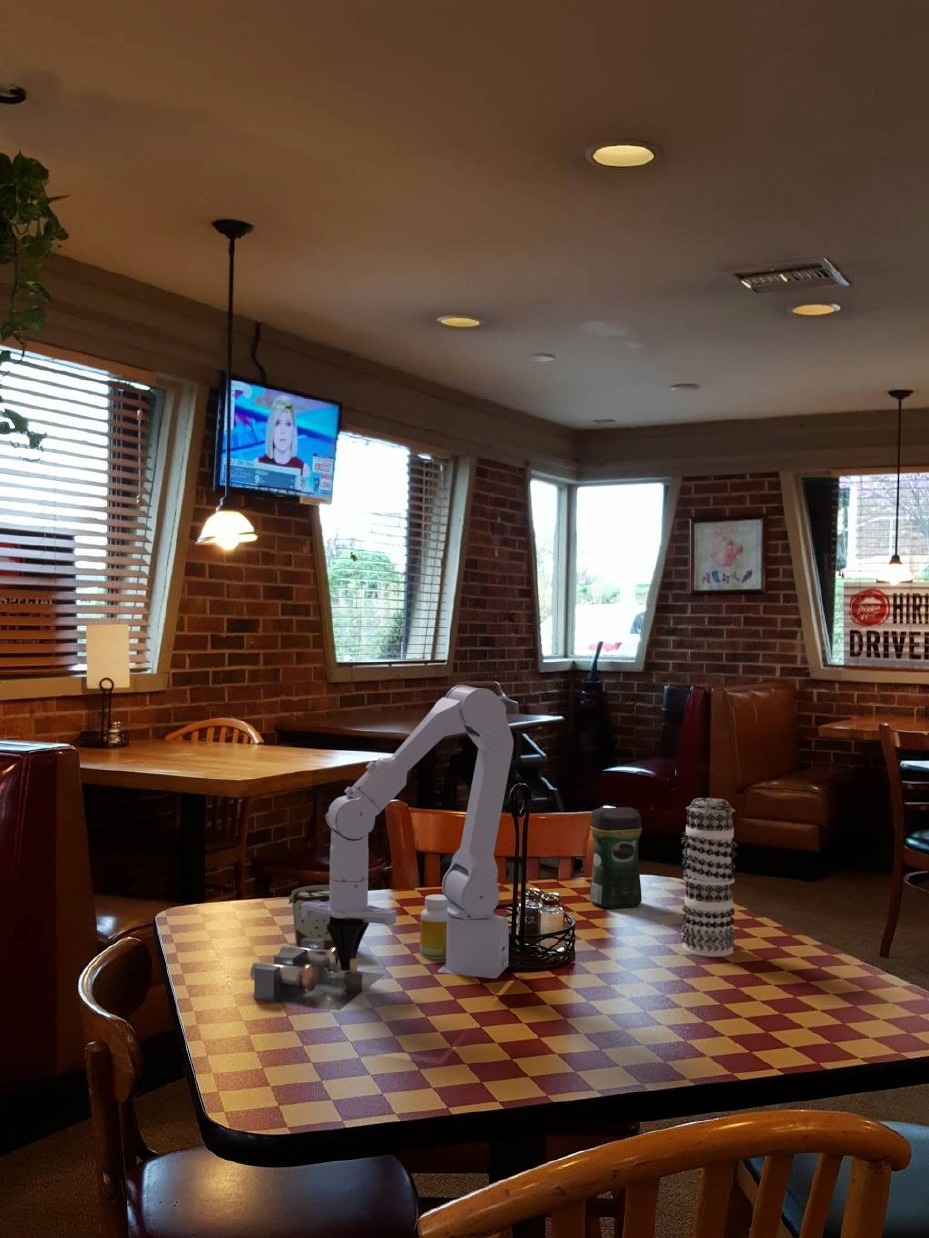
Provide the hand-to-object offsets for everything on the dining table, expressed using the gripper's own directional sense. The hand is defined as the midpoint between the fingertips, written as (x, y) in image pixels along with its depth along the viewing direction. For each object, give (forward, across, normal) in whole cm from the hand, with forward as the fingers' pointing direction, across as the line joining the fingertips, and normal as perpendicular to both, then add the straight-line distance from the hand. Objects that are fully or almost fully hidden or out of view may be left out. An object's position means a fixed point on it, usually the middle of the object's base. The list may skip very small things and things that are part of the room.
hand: (347, 968), depth 174 cm
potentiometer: (+2, +3, -4) cm, 6 cm away
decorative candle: (+2, +49, +37) cm, 62 cm away
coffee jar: (+2, +29, +62) cm, 69 cm away
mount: (+2, -2, -5) cm, 5 cm away
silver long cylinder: (+1, -6, 0) cm, 6 cm away
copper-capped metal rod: (+1, -6, -9) cm, 11 cm away
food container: (+2, -10, +15) cm, 18 cm away
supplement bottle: (+2, +8, +17) cm, 19 cm away
